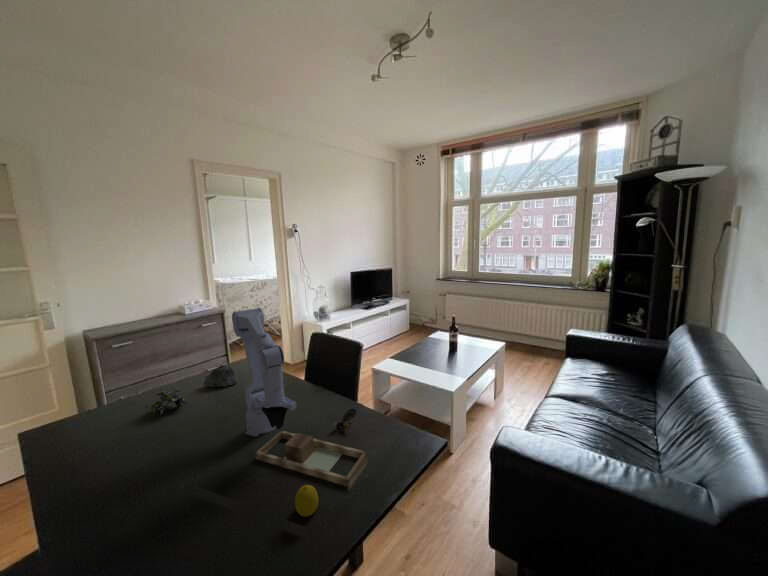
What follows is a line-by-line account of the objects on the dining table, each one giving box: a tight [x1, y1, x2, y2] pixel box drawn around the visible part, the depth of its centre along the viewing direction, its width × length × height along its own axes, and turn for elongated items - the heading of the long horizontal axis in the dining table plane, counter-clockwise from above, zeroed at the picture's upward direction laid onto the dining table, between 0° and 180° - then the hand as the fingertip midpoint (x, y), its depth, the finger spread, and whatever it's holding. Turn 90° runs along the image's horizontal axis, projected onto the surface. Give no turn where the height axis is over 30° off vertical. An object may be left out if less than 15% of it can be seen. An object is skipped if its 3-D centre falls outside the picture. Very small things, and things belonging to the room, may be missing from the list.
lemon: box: [294, 484, 319, 518], centre depth 79 cm, size 6×6×8 cm
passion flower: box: [145, 387, 188, 416], centre depth 129 cm, size 11×11×12 cm
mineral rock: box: [202, 364, 239, 388], centre depth 151 cm, size 13×11×10 cm
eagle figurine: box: [332, 408, 357, 433], centre depth 114 cm, size 8×7×9 cm
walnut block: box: [284, 432, 314, 464], centre depth 99 cm, size 6×6×5 cm
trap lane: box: [254, 430, 369, 492], centre depth 98 cm, size 32×12×4 cm, turn 68°
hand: (277, 426), depth 101 cm, fingers closed
